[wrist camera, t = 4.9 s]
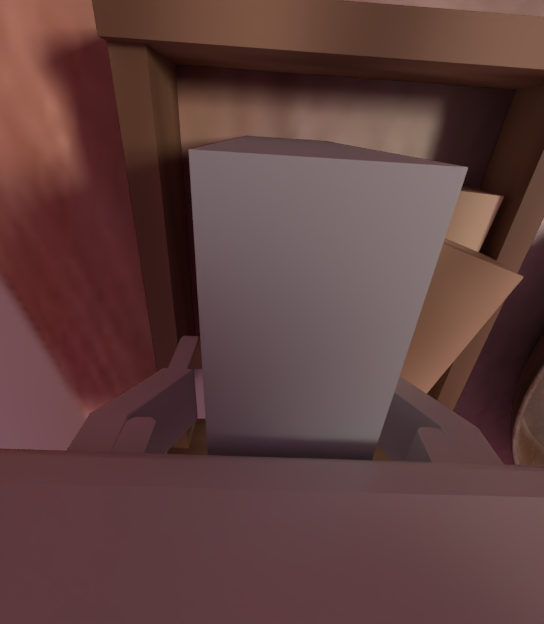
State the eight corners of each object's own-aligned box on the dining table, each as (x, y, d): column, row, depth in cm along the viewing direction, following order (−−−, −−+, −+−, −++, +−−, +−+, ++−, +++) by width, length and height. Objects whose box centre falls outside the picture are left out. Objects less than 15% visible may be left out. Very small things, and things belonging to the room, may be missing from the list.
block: (325, 141, 12) (468, 166, 3) (296, 381, 18) (320, 615, 9) (247, 135, 12) (188, 149, 3) (242, 379, 18) (217, 613, 9)
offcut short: (488, 256, 12) (524, 276, 11) (392, 384, 16) (407, 416, 14) (398, 218, 12) (421, 234, 10) (317, 361, 15) (323, 392, 13)
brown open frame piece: (556, 55, 11) (668, 26, 8) (412, 423, 20) (438, 476, 17) (141, 23, 10) (88, -21, 7) (184, 415, 19) (168, 468, 16)
